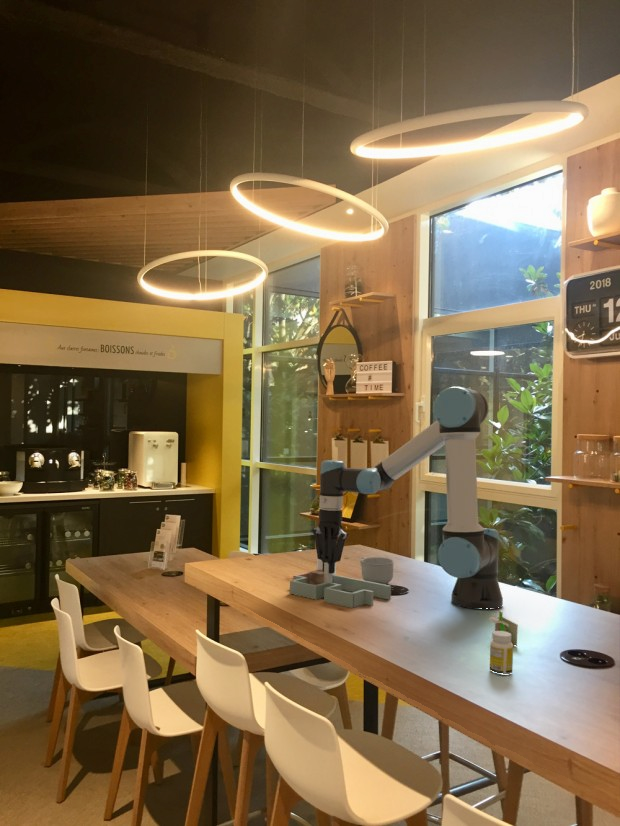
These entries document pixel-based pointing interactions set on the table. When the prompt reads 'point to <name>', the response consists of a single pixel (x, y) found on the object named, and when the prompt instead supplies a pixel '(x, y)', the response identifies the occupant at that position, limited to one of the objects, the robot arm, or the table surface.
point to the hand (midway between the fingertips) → (327, 582)
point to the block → (316, 577)
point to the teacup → (377, 569)
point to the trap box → (333, 593)
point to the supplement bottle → (501, 652)
